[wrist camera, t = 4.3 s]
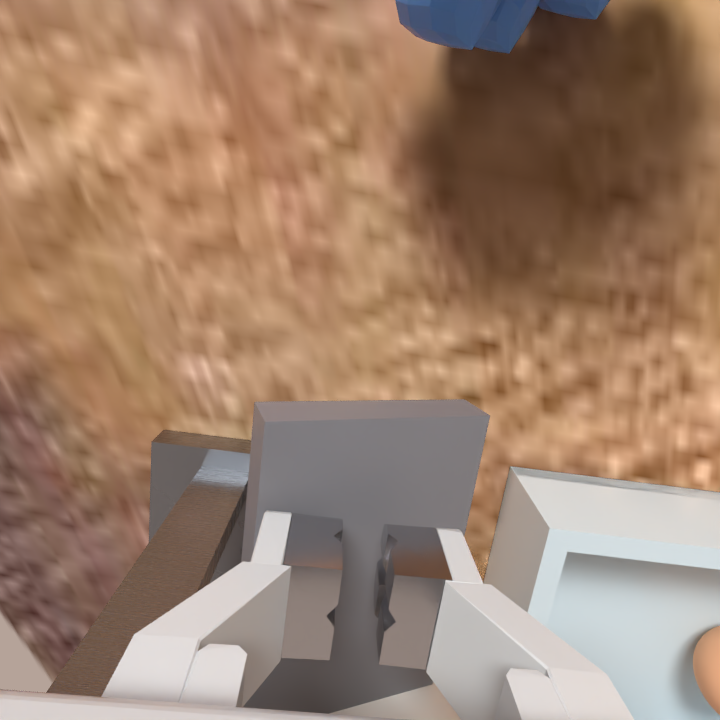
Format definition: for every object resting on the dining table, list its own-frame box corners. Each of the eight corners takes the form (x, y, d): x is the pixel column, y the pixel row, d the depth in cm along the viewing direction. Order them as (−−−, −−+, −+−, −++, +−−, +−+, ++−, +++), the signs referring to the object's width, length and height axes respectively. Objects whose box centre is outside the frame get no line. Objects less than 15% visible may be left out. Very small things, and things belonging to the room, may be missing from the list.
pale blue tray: (817, 504, 21) (935, 574, 17) (718, 743, 25) (795, 852, 20) (510, 466, 21) (549, 528, 16) (452, 714, 24) (472, 820, 20)
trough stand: (306, 447, 21) (219, 787, 8) (278, 690, 24) (185, 1202, 11) (163, 429, 20) (-156, 747, 8) (155, 677, 24) (-80, 1182, 11)
